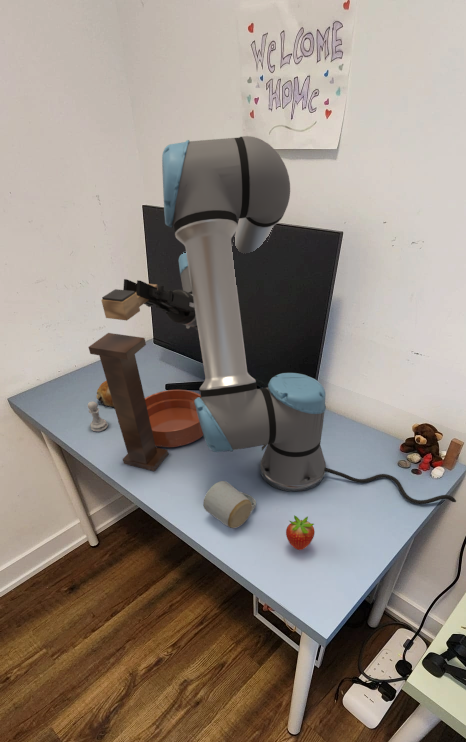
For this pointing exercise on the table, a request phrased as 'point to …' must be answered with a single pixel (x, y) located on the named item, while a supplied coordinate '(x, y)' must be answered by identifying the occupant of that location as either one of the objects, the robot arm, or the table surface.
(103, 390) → the bread roll
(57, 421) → the table surface
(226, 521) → the ceramic mug
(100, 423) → the chess piece
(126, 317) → the hairbrush
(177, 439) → the bowl
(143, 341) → the stand
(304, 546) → the fruit
